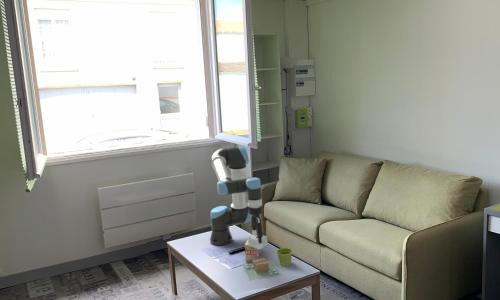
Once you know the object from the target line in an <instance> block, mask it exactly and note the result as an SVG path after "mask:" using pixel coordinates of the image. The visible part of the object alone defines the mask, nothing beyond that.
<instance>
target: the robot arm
mask: <svg viewBox="0 0 500 300" xmlns="http://www.w3.org/2000/svg"><path fill="white" fill-rule="evenodd" d="M248 155H249V154H248V151H247V149H246V147H245V146H242V145H240V146H238V145H237V146H229V147H222V148H219V149H217V150H215V151H214V152H213V153H212V155H211V157H210V162H209V163H210V165H211V168H212V169H213V170H214V173H215V175H216V178H217V180H218V182H216V183H217V184H216V189H217V193H218V195H219V196H226V195H231V197H232V203H230V207H228V206H226V205H220V206H219V205H218V206H216V207H214V208H212V209H211V210H210V222H211V223H210V224H211V235H210V238H209V240H210V241H209V242H210V244H211V245H214V246H224V245H225V246H226V245H228V244H230V243H232V242H233V240H234V239H233V235H232V233H231V231H230V226H235V225H236V226H237V225H242V224H243V225H244V224H247V223H249V222H250V221H251V222H250V224H251V226H250V227H251V230H252V236H253V235H255V234H257V237H256V238H257V247H258V249H264V247H263V244H262V237H263V235H264V233H263V227H262V219H261V216H260V215H261V214H263V200H262V199H263V198H262V183H261V178H259V177H251V176H246V177H245V169H246V168H247V164H249V162H250V161H249V160H250V159H249V156H248ZM228 169H230V171H229V170H228ZM246 193H247V200H246Z"/></svg>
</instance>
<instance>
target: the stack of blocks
mask: <svg viewBox="0 0 500 300" xmlns="http://www.w3.org/2000/svg"><path fill="white" fill-rule="evenodd" d="M262 249H263V248H262ZM262 249H257V248H254V247H251V246H249V243H248V238H247V240H246V242H245V243H244V253H245V254H244V255H245V263H253V260H256V259H259V256H260V254H261V253H262V251H263V250H262Z"/></svg>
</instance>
